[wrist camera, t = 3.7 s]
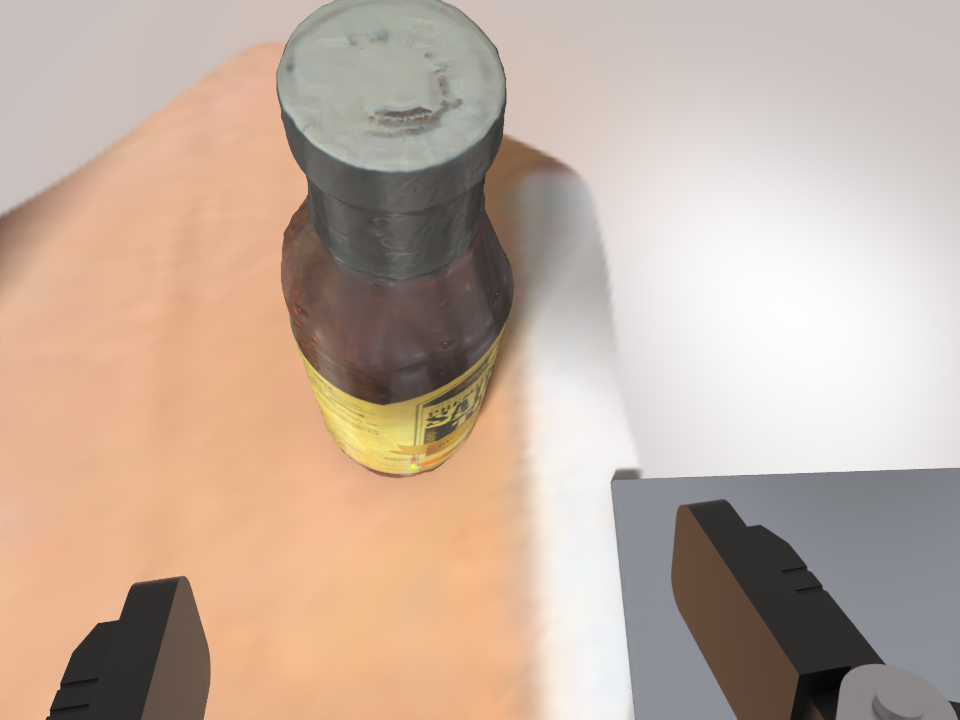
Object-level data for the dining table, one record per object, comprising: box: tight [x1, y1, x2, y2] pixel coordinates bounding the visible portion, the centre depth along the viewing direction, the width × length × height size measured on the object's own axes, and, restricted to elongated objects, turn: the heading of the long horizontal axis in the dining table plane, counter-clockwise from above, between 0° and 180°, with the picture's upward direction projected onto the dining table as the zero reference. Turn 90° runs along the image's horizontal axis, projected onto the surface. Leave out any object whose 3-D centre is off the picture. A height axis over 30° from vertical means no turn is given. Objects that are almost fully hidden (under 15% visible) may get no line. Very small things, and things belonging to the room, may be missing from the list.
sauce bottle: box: [277, 0, 513, 478], centre depth 22 cm, size 6×6×20 cm
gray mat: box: [611, 468, 960, 720], centre depth 30 cm, size 16×11×1 cm
